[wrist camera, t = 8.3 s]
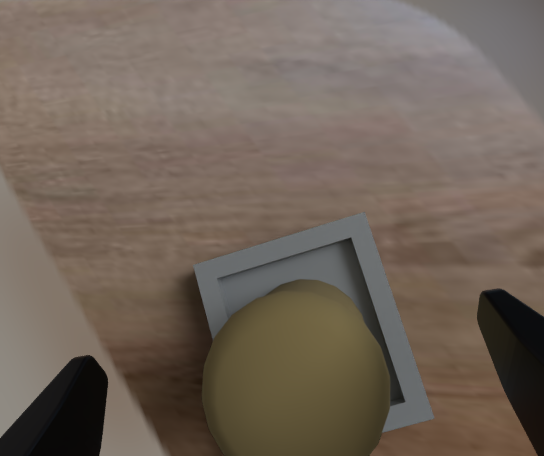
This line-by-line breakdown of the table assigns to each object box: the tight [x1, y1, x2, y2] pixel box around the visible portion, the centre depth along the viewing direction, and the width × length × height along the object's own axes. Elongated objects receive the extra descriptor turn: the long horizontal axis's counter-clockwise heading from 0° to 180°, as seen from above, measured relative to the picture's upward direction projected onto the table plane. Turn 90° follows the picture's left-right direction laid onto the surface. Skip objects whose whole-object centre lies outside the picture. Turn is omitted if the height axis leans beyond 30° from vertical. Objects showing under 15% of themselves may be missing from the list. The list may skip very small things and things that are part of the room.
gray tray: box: [193, 212, 434, 433], centre depth 21 cm, size 10×9×2 cm
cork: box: [202, 279, 390, 456], centre depth 15 cm, size 6×6×11 cm
